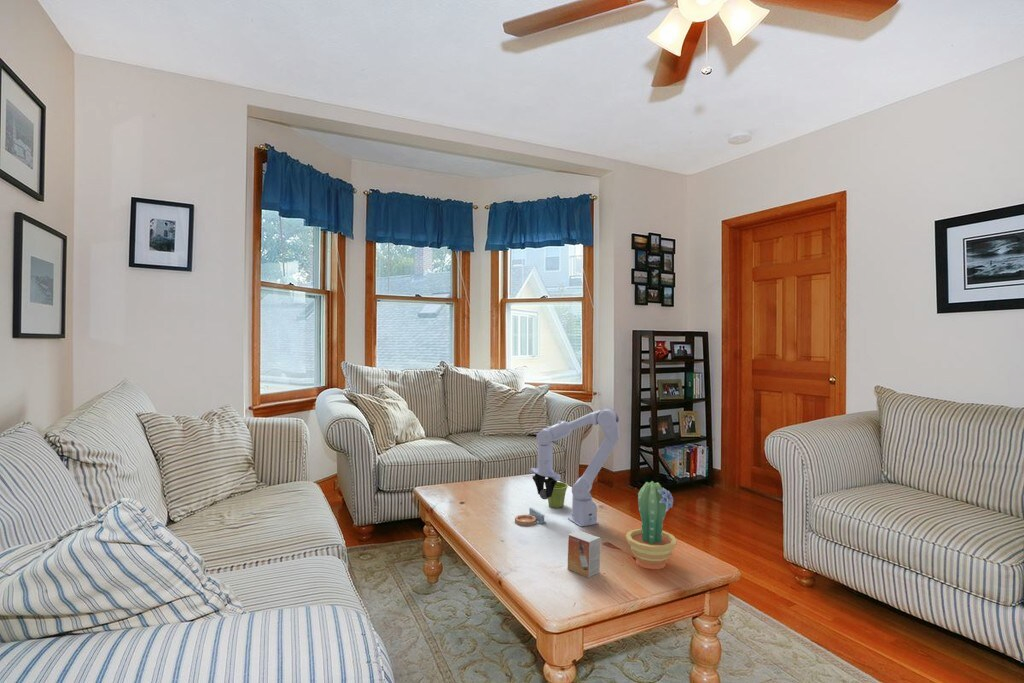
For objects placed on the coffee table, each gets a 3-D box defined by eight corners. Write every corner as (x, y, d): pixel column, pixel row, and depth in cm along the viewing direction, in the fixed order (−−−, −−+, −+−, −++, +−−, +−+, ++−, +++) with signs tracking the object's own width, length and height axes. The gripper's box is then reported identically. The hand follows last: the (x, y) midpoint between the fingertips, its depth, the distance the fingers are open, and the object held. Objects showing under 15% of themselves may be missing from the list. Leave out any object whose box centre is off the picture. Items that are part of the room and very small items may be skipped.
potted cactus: (641, 576, 154) (642, 491, 154) (616, 555, 169) (617, 477, 169) (687, 570, 159) (688, 487, 158) (659, 550, 174) (660, 474, 173)
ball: (551, 500, 204) (552, 489, 204) (542, 501, 202) (542, 491, 202) (546, 497, 207) (546, 486, 207) (537, 498, 206) (537, 488, 206)
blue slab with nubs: (546, 523, 197) (546, 515, 197) (540, 524, 196) (540, 516, 196) (533, 515, 206) (533, 507, 206) (527, 515, 205) (527, 508, 205)
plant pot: (568, 509, 213) (568, 488, 213) (545, 509, 213) (545, 487, 213) (566, 502, 222) (566, 481, 222) (544, 502, 222) (544, 481, 222)
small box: (567, 569, 159) (567, 534, 159) (578, 563, 163) (579, 529, 163) (588, 578, 153) (589, 542, 153) (600, 572, 157) (600, 537, 157)
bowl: (539, 523, 197) (539, 520, 197) (521, 526, 193) (521, 523, 193) (529, 517, 204) (529, 513, 204) (512, 520, 200) (512, 516, 200)
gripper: (566, 462, 202) (565, 497, 202) (539, 455, 213) (538, 489, 213) (553, 465, 197) (553, 501, 197) (526, 458, 208) (526, 492, 208)
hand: (544, 495), depth 205 cm, fingers closed on ball, 4 cm apart
